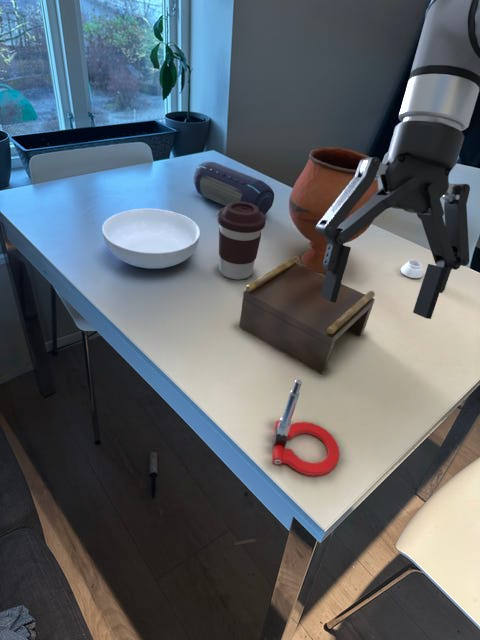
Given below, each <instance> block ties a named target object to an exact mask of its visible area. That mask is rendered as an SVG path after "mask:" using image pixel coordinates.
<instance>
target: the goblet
mask: <svg viewBox="0 0 480 640" xmlns="http://www.w3.org/2000/svg"><path fill="white" fill-rule="evenodd" d="M363 158H371V156H369V155H367V154H364V153H361V152H359V151H356V150H353V149H349V148H345V147H339V146H327V147H326V146H325V147H319V148H315V149H312V150H311V151H310V152H309V154H308V161H307V162H306V165H305V166H304V169H303V170H302V172H301V173H300V174H299V177H298V178H297V179H296V181H295V183H294V185H293V188H292V189H291V191H290V195H289V199H288V210H289V216H290V219H291V221H292V223H293V224H294V227H295V228H296V229H297V230H298V232H299V233H300V234H301V235H302V236H303V237H304V238H305V239H306V240H307V241H309V246H310V247H311V248H310V249H308V250H307V251H305V252H304V253H303V255H302V256H301V258H300V262H301V264H303V266H304V267H306V268H308V269H311V270H313V271H315V272H317V273H327V270H325V269H323V265H322V264H323V260H324V256H325V253H326V249H327V245H328V241H327V240H326V239H325V237H324V236H323V235H321V234H320V233H318V232H317V231H316V225H317V224H318V223H319V221H320V220H321V219H322V217H323V216H324V215H325V214H326V212H327V211H328V210H329V208H330V207H331V206H332V205H333V203H334V202H335V201H336V199H337V198H338V197H339V196H340V194H341V193H342V192H343V191H344V189H345V188H346V187H347V185H348V184H349V183H350V182H351V180H352V179H353V178H354V176H355V174H356V171H357V168H358V166H359V163H360V161H361V160H362V159H363ZM378 180H379V178H378V179H377V180H374V181H373V183H372V184H371V186H370V187H369V188H368V190H367V191H366V192H365V193H364V195H363V196H362V197H361V199H360V200H359V201H358V202H357V204H356V205H355V206H354V207H353V209H352V210H351V211H350V213H349V214H348V215H347V216H346V218H345V219H344V220H343V221H345V220H346V219H347V218H348V217H350V216H351V215H352V214H353V213H354V212H356V211H357V210H358V209H359V208H361V207H362V206H363V205H364V204H365V203H367V202H368V201H369V200H370V198H371V197H372V196H373V195H374V194H375V193H376V192H378V191H379V181H378ZM343 221H342V222H343ZM373 222H374V220H372V221H371V222H370V223H369V224H368V225H366V226H365V227H364V228H363V229H361V230H360V231H359V232H358V233H357V234H355V235H354V236H353V237H352V238H350V239H349V240H348V241H347V242H346V243H345V244H347V243H350V242H352V241H354V240H355V239H357V238H359V237H360V236H362V234H364V233H365V232H366V231H367V230H368V229H369V228H370V226H371V225H372V224H373Z"/></svg>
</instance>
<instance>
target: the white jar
mask: <svg viewBox="0 0 480 640" xmlns="http://www.w3.org/2000/svg"><path fill="white" fill-rule="evenodd" d="M400 272H401V274H403V275H404V276H406V277H408V278H412V279H420V278H422V277H423V276H424V275H423V274H424V273H423V266H422V263H421V262H420V261H418V260H415V259H409V260H408V261H407V262H406V263H405V264H404V265H403V266H401V267H400Z"/></svg>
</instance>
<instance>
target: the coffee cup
mask: <svg viewBox="0 0 480 640" xmlns="http://www.w3.org/2000/svg"><path fill="white" fill-rule="evenodd" d="M216 219H217V223H218V225H219V227H218V255H219V272H220V273H221V275H222V276H224V277H226V278H228V279H231V280H244V279H247V278H249V277H251V275H252V274H253V269H254V266H255V261H256V259H257V256H258V252H259V248H260V247H259V246H260V242H261V238H262V230H263V229H265V227H266V222H267V217H266V214H263V213H262V212H260V210H259V208H258V207H257V206H255V205H253V204H250V203H246V202H233V203H230V204H228V205H227V206H225V207H222V208H221V209H219V211H218V212H217V217H216Z"/></svg>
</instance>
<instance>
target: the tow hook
mask: <svg viewBox="0 0 480 640" xmlns="http://www.w3.org/2000/svg"><path fill="white" fill-rule="evenodd" d="M302 384H303V381H302V380H301V379H296V380H295V382H294V385H293V388H292V389H291V390H290V392H289V396H288V399H287V402H286V405H285V408H284V411H283V413H282V417H281V418H280V419H279V420H276V421H275V423H274V434H273V439H272V440H273V442H272V444H273V445H272V450H273V452H272V464H274V465H277V466H278V465H279V466H280V465H282V464H286V465H288V466H289V467H290V468H291V469H293V470H295V471H296V472H298V473H301V474H303V475H306V476H314V477H317V476H323V475H326V474H328V473H330V472H332V470H334V469H335V467H336V466H337V463H338V462H339V458H340V448H339V445H338V443H337V440H336V439H335V438H334V437H333V435H332V434H331V433H330V432H329V431H328V430H326V429H325V428H324V427H322V426H321V425H319V424H314V423H313V422H306V421H300V422H299V421H297V422H295V423H292V418H293V416H294V412H295V410H296V406H297V404H298V400H299V398H300V394H301V393H300V390H301V386H302ZM299 434H308V435H309V434H310V435H312V436H314V437H316V438H318V439H319V440H321V442H323V444H324V446H325V448H326V452H327V454H326V457H325V459H323V460H322V461H319V462H314V463H313V462H308V461H305V460H303V459H301V458H300V457H298V455H296V454H295V452H294V451H293V450H292V449H290V448H285V447H286V445H287V442H288V439H289V440H291V439H293V438H294V437H295V436H297V435H299Z"/></svg>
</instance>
